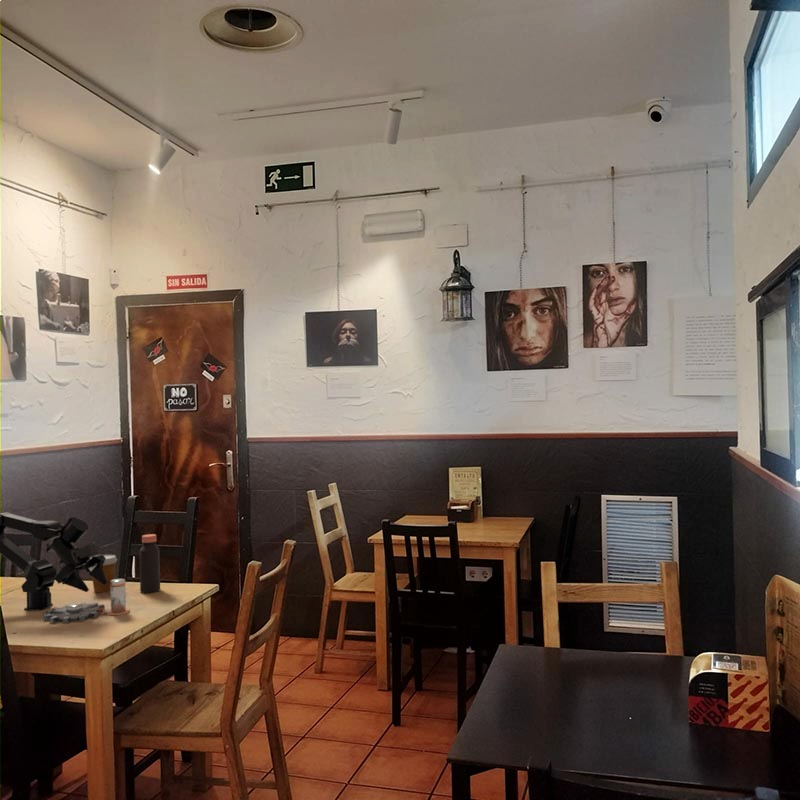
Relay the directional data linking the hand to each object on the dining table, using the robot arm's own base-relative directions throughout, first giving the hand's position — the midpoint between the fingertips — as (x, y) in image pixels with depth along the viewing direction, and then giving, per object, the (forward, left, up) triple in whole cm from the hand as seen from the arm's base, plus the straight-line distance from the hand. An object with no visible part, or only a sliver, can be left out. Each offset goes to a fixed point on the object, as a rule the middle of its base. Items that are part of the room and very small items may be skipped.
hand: (97, 587), depth 235 cm
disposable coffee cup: (-10, +27, -8) cm, 30 cm away
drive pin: (+8, -2, -7) cm, 11 cm away
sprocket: (-6, -4, -8) cm, 10 cm away
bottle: (+8, +25, -8) cm, 27 cm away
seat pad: (+8, -2, -8) cm, 11 cm away
